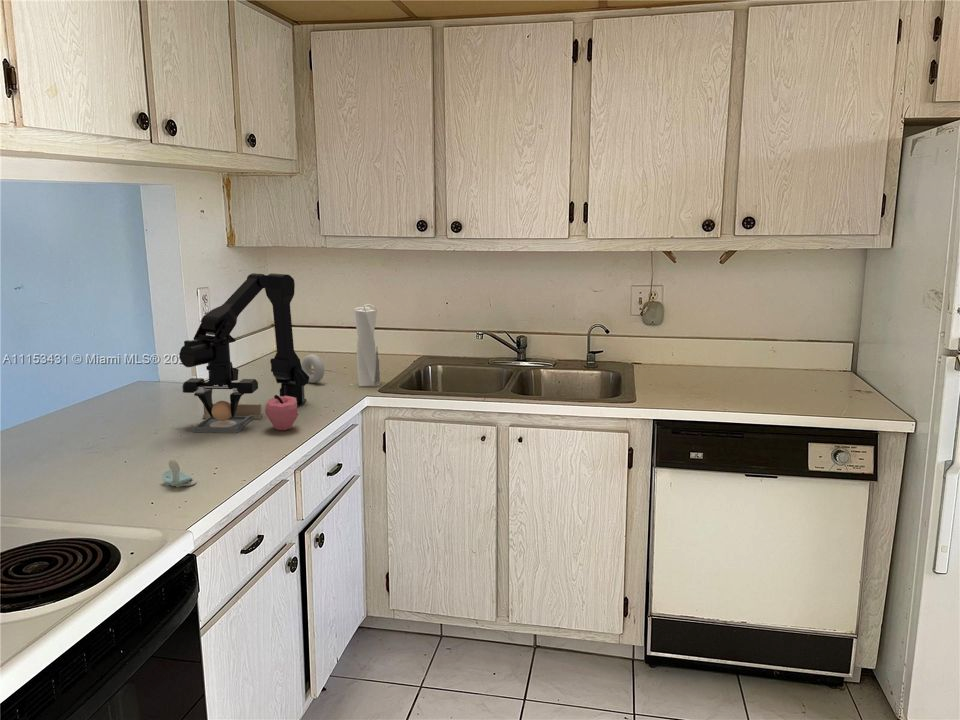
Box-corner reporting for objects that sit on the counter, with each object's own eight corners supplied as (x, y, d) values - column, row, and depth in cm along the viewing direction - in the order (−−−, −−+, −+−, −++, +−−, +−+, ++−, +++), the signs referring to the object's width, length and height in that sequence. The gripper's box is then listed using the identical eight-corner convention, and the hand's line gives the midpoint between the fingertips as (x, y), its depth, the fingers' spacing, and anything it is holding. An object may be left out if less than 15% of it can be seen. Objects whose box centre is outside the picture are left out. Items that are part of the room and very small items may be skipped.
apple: (298, 433, 192) (296, 397, 190) (264, 435, 190) (262, 398, 188) (300, 423, 201) (299, 388, 199) (268, 424, 200) (266, 389, 198)
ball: (236, 417, 200) (235, 398, 199) (229, 423, 195) (228, 404, 194) (216, 417, 200) (215, 398, 199) (209, 423, 195) (207, 403, 194)
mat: (251, 419, 204) (251, 415, 203) (237, 432, 192) (237, 428, 192) (209, 419, 204) (209, 415, 203) (192, 432, 192) (192, 427, 192)
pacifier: (185, 476, 161) (159, 483, 157) (184, 450, 160) (158, 455, 156) (202, 485, 157) (175, 492, 152) (201, 457, 156) (174, 463, 151)
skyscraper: (380, 387, 241) (378, 304, 235) (355, 388, 240) (353, 304, 234) (380, 381, 249) (378, 301, 243) (356, 382, 248) (354, 301, 242)
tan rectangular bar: (262, 416, 207) (262, 402, 206) (259, 419, 204) (258, 405, 203) (207, 415, 207) (206, 402, 206) (203, 418, 204) (202, 404, 203)
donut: (327, 384, 245) (326, 355, 243) (319, 386, 242) (318, 357, 240) (307, 379, 251) (306, 351, 249) (299, 381, 248) (298, 353, 246)
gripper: (262, 354, 202) (265, 408, 205) (196, 354, 202) (200, 407, 205) (250, 363, 191) (253, 420, 194) (179, 362, 191) (183, 419, 194)
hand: (222, 416), depth 197 cm, fingers closed on ball, 5 cm apart
